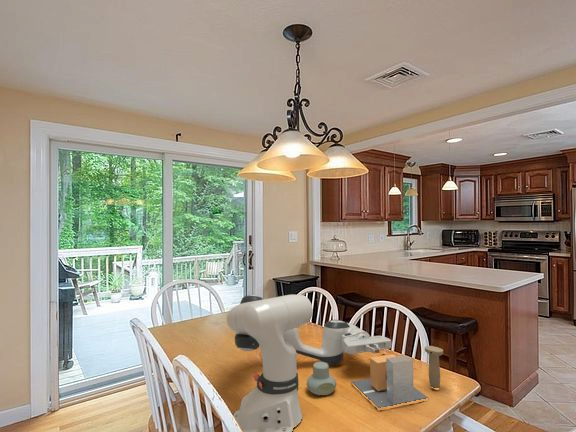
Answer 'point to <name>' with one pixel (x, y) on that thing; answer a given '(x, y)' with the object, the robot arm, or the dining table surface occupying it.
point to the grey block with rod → (399, 379)
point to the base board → (380, 393)
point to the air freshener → (321, 380)
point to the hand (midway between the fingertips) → (377, 351)
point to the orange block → (379, 372)
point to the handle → (434, 365)
